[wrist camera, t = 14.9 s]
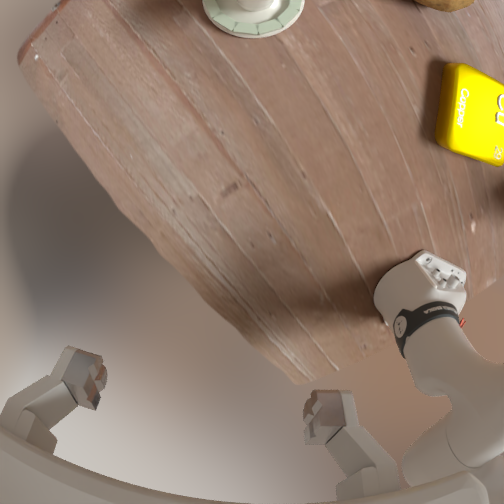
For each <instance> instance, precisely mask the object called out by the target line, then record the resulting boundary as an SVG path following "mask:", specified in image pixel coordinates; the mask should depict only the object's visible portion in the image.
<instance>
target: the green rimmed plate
mask: <svg viewBox="0 0 504 504" xmlns="http://www.w3.org/2000/svg"><path fill="white" fill-rule="evenodd" d="M202 1H203V7H204V10H205V12H206V14H207V16H208V17H209V19H210V20H211V21H212V22H213V23H214V24H215V25H216V26H217V27H218V28H220V29H221V30H223V31H225V32H226V33H229V34H231V35H234V36H237V37H242V38H252V39H253V38H265V37H269V36H273V35H275V34H278V33H280V32H282V31H284V30H286V29H287V28H289V27H290V26H291V25H292V24H293V23H294V22H295V21H296V20H297V19H298V17H299V16H300V14H301V12H302V10H303V6H304V1H305V0H275V1H274V3H273V4H272V5H271V6H270V7H269V8H267V9H265V10H262V11H249V10H246V9H244V8H242V7H241V6H240V5H239V4H238V3H237V1H236V0H202Z"/></svg>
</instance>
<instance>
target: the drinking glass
mask: <svg viewBox="0 0 504 504" xmlns="http://www.w3.org/2000/svg"><path fill="white" fill-rule="evenodd" d="M236 1H237V3H238V4H239V5H240V6H241V7H242V8H244V9H246V10H249V11H262V10H265V9H267V8H269V7H270V6H271V5H272V4H273V3H274V1H275V0H236Z"/></svg>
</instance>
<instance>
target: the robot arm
mask: <svg viewBox="0 0 504 504" xmlns="http://www.w3.org/2000/svg"><path fill="white" fill-rule="evenodd" d="M427 258H428V259H427ZM465 280H466V272H465V271H464V270H463V269H462V268H460V267H458V266H456V265H454V264H452V263H450V262H448V261H446V260H444V259H442V258H440V257H438V256H436V255H434V254H432V253H430V252H428V251H426V250H422V251H420V252H419V253H417V254H416V255H415V256H414V257H413V258H411V259H410V260H408V261H406V262H403V263H401V264H399V265H397V266H395V267H394V268H392V269H391V270H389V271H388V272H387V273H386V274H385V275H384V276H383V277H382V279H381V280H380V281H379V283H378V285H377V287H376V289H375V292H374V304H375V306H376V308H377V309H378V311H379V312H380V313H381V314H382V316H383V319H384V322H385V324H386V325H387V326H389V327H390V329H391V331H392V333H393V334H394V336H395V339H396V343H397V345H398V348H399V351H400V353H401V355H402V356H403V358H405V359H406V361H407V364H408V367H409V369H410V372H411V375H412V378H413V380H414V383H415V386H416V388H417V389H418V390H419V391H420V392H422V393H424V394H425V395H428V396H443V395H447V396H448V398H449V399H450V401H451V404H452V410H451V411H450V412H449V413H448V414H447V415H445V416H444V417H443V418H442V419H440V420H439V421H438V422H436V423H435V424H434V425H433V426H431V427H430V428H428V429H427V430H426V431H424V432H423V433H422V434H421V435H420V436H419V438H417V440H416V441H415V442H414V443H413V444H412V445H411V446H410V447H409V448H408V449H407V451H406V452H405V454H404V456H403V459H402V472H403V476H404V478H405V480H406V481H407V483H408V484H409V485H410V486H411V487H410V488H406V489H402V490H401V487H400V481H399V476H398V470H397V465H396V462H395V461H394V460H393V459H392V458H391V456H390V455H389V454H388V453H387V452H386V451H385V450H384V449H383V448H382V447H381V446H380V444H379V443H378V442H377V441H376V440H375V439H374V438H373V437H372V436H371V435H370V434H369V433H368V431H367V430H366V429H365V428H364V427H363V426H359V422H358V417H357V412H356V407H355V402H354V397H353V393H352V391H350V390H313V391H312V393H311V398H310V399H308V400H307V401H306V403H305V405H304V409H303V421H304V422H305V423H306V424H307V425H308V426H307V427H306V428H305V430H304V435H305V444H309V445H310V444H311V445H314V444H315V445H325V447H326V448H327V449H328V451H329V452H330V454H331V455H332V456H333V458H334V459H335V461H336V462H337V464H338V465H339V467H340V468H341V469H342V470H343V472H344V473H345V475H346V476H347V479H345V480H343V481H342V482H340V483H338V484H337V485H336V495H337V501H332V502H321V503H307V504H504V456H499V454H501V453H502V452H504V363H495V362H491V361H488V360H486V359H485V358H483V357H482V356H480V355H479V354H478V353H477V352H476V351H475V350H474V348H473V346H472V345H471V344H470V342H469V340H468V339H467V337H466V336H465V334H464V332H463V331H462V327H463V326H464V324H465V322H466V321H465V322H464V323H463V320H464V318H463V319H462V320H461V321H460V323H459V317H458V315H459V313H460V311H461V310H462V308H463V306H464V303H465V300H466V291H465V289H464V284H465ZM462 323H463V324H462ZM102 363H103V359H102V356H99V355H96V354H93V353H89V352H86V351H83V350H80V349H77V348H74V347H71V346H67V347H66V348H65V349H64V351H63V352H62V354H61V356H60V358H59V360H58V362H57V364H56V365H55V367H54V369H53V371H52V373H51V375H50V376H48V375H47V376H45V377H43V378H41V379H40V380H38V381H37V382H35V383H33V384H32V385H30V386H29V387H27V388H25V389H23V390H22V391H20V392H19V393H17V394H15V395H14V396H12V397H10V398H9V399H8V400H7V402H6V404H5V406H4V408H3V411H2V413H1V415H0V504H248V503H234V502H222V501H214V500H206V499H199V498H192V497H187V496H181V495H175V494H171V493H166V492H161V491H157V490H152V489H148V488H144V487H140V486H137V485H133V484H130V483H126V482H123V481H119V480H116V479H113V478H110V477H107V476H104V475H101V474H99V473H96V472H93V471H90V470H88V469H85V468H83V467H80V466H78V465H75V464H73V463H70V462H68V461H66V460H63V459H61V458H59V457H57V456H54V455H53V453H54V449H55V446H56V443H57V439H56V437H55V436H54V435H53V434H52V433H51V432H50V431H49V430H50V429H51V428H52V427H53V426H54V425H56V424H57V423H58V422H59V421H60V420H62V419H63V418H64V417H65V416H67V415H68V414H69V413H70V412H71V411H73V410H74V409H75V408H76V407H77V406H78V405H80V406H83V407H86V408H89V409H92V410H96V409H97V406H98V404H99V401H100V398H101V397H100V394H99V392H100V391H101V390H103V389H104V388H105V385H106V382H107V370H106V367H105V366H104V365H102Z"/></svg>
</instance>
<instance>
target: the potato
mask: <svg viewBox="0 0 504 504" xmlns="http://www.w3.org/2000/svg"><path fill="white" fill-rule="evenodd" d="M415 1H417V2H418V3H420V4H423V5H425V6H427V7H430V8H433V9H436V10H439V11H445V12H453V11H456V10H459V9H462V8H465V7H468V6H469V5H471V4H472V3H473V2H474V0H415Z"/></svg>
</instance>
